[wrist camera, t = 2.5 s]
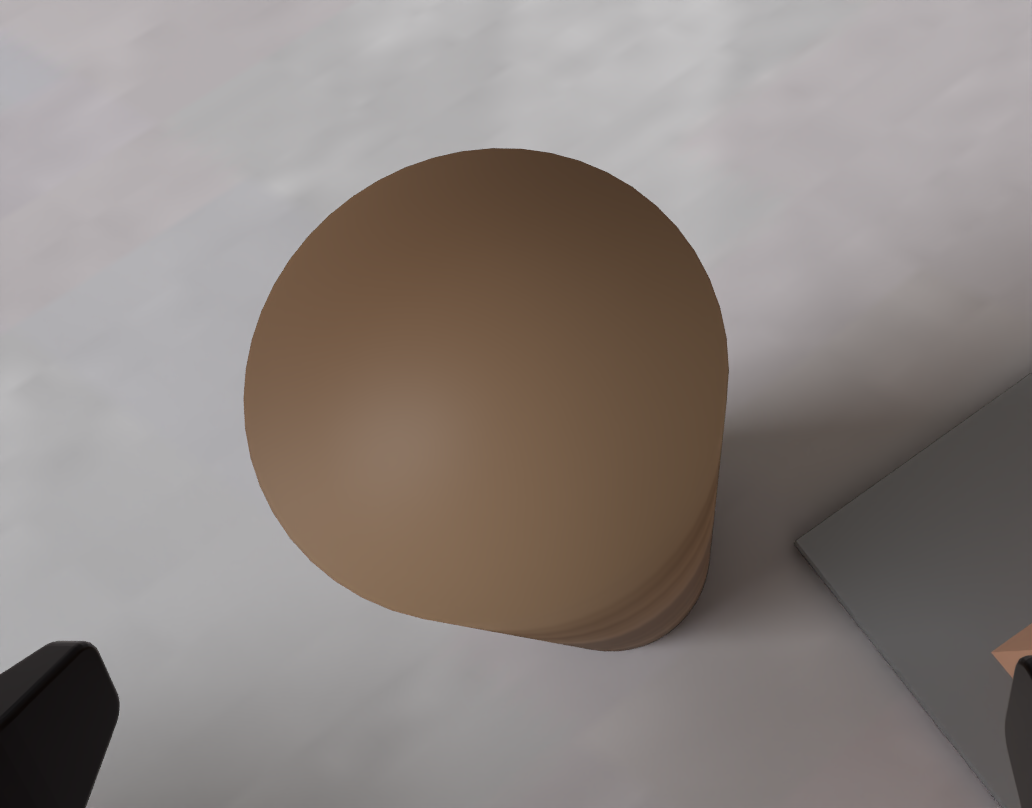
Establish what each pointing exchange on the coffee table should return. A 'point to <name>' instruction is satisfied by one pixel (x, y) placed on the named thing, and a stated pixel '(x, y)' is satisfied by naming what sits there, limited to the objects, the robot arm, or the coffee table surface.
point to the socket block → (1014, 649)
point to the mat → (946, 574)
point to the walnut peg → (497, 400)
